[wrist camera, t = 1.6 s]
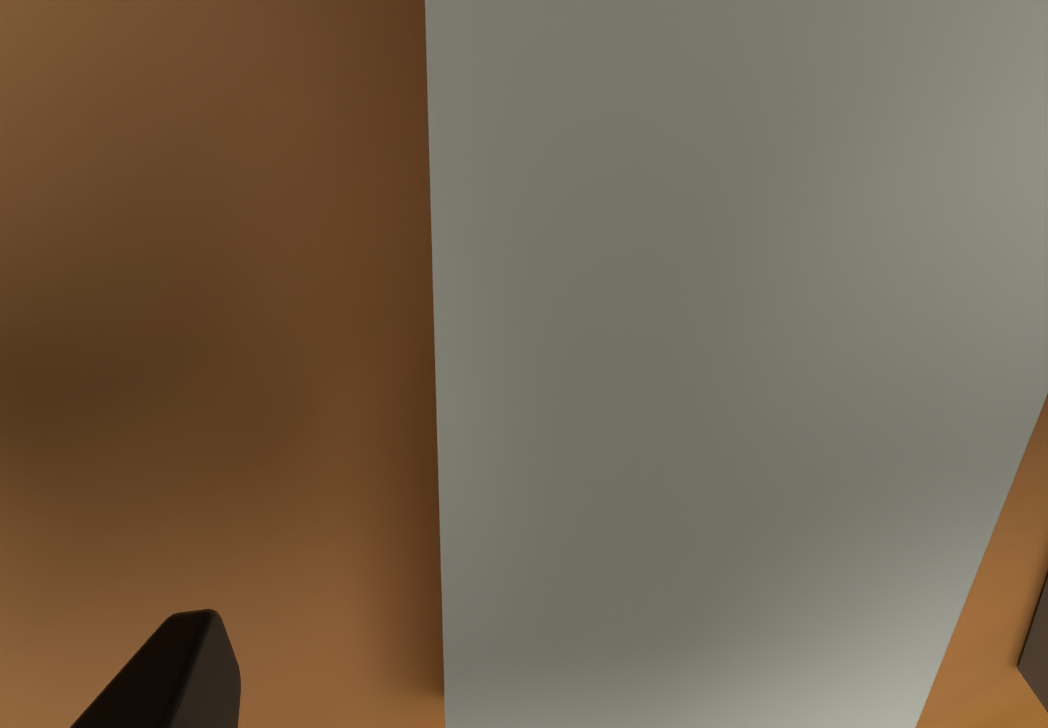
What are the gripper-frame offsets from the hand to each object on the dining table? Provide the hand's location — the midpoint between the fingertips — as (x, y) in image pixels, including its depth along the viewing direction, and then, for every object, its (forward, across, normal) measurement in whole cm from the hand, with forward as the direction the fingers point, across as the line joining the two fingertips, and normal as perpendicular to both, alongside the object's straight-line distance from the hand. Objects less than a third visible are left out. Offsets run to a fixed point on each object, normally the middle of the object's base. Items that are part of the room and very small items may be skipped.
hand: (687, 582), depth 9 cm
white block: (+5, 0, 0) cm, 5 cm away
